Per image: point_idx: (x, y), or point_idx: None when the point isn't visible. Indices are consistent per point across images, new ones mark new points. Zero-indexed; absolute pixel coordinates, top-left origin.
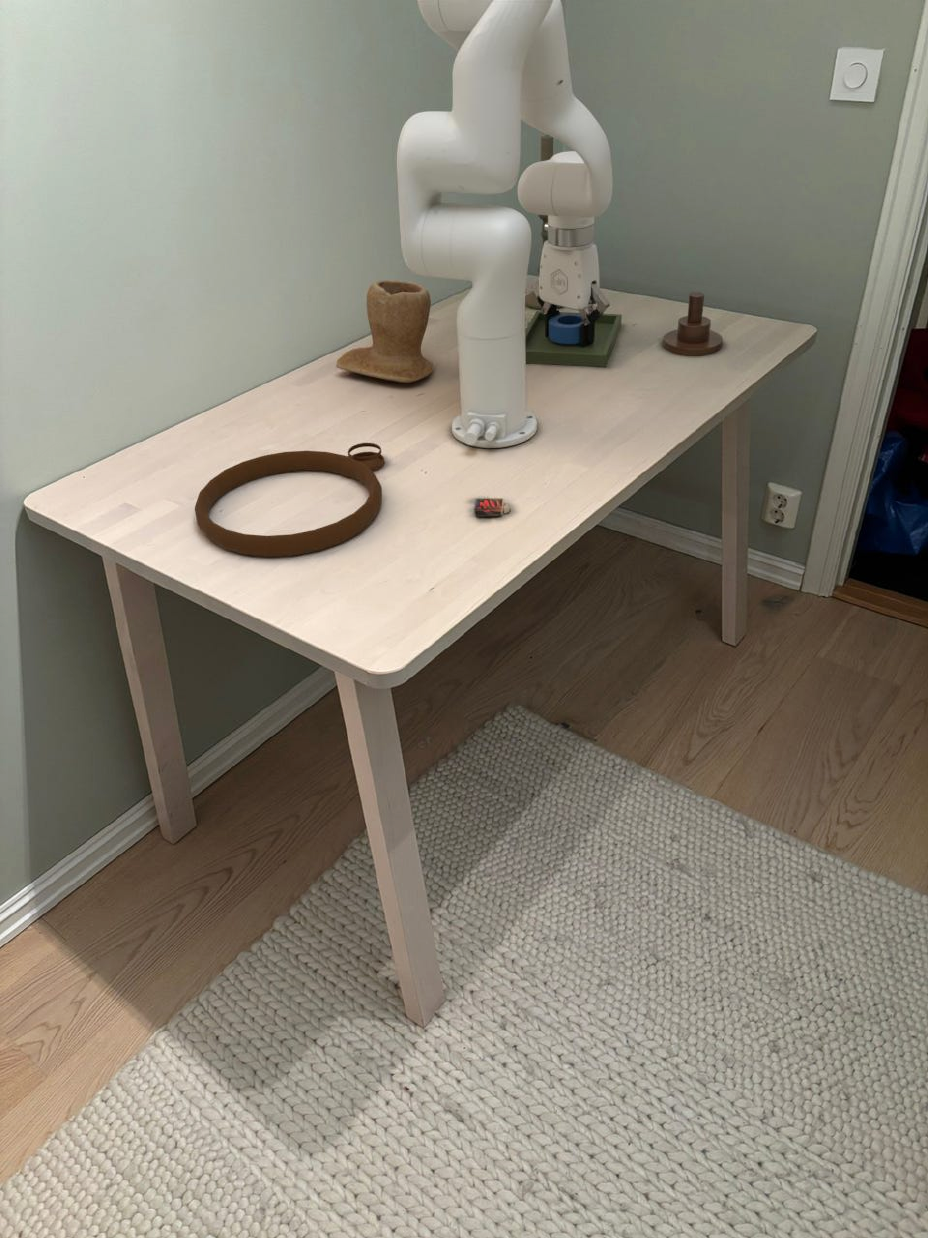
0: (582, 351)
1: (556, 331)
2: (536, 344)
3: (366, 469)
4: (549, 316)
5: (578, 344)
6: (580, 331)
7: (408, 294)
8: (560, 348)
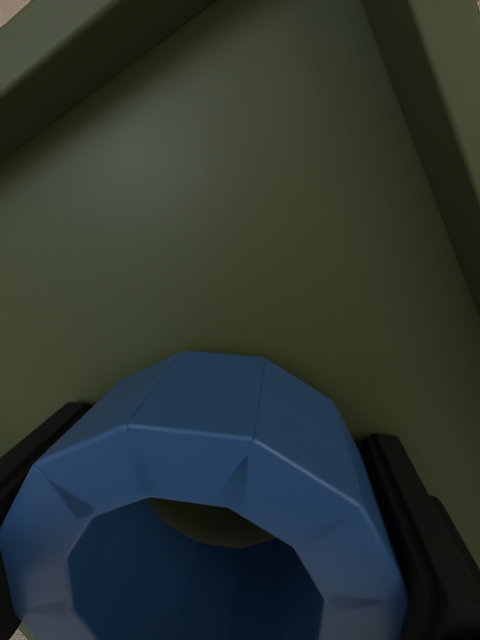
0: (33, 351)
1: (207, 395)
2: (372, 285)
3: None
4: (420, 597)
5: None
6: (8, 469)
7: None
8: (172, 317)
